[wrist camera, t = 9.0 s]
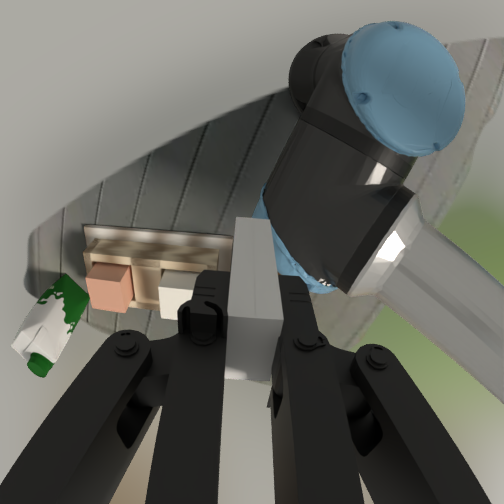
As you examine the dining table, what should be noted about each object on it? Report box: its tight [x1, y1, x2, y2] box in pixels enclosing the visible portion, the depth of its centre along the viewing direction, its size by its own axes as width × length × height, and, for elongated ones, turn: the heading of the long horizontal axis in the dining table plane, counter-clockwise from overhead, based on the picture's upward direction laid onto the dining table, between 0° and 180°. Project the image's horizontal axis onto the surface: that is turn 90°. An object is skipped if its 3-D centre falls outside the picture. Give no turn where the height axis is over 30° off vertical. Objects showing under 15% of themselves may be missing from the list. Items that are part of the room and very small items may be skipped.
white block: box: [158, 269, 201, 320], centre depth 48 cm, size 6×6×7 cm
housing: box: [83, 225, 233, 311], centre depth 50 cm, size 26×14×6 cm, turn 84°
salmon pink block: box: [86, 261, 135, 313], centre depth 47 cm, size 6×6×7 cm
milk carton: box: [11, 274, 90, 378], centre depth 47 cm, size 9×9×20 cm
